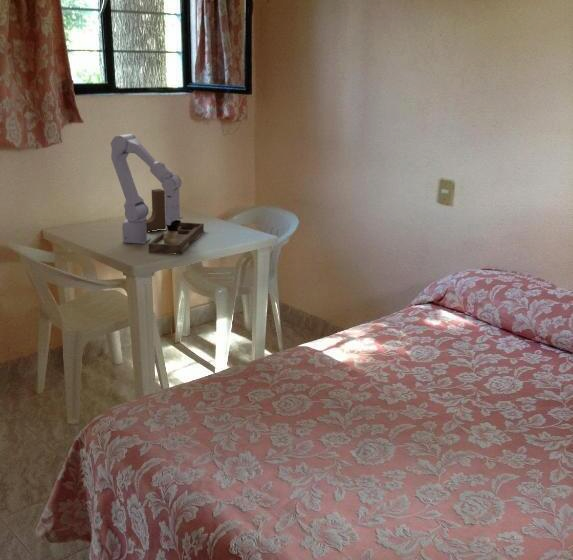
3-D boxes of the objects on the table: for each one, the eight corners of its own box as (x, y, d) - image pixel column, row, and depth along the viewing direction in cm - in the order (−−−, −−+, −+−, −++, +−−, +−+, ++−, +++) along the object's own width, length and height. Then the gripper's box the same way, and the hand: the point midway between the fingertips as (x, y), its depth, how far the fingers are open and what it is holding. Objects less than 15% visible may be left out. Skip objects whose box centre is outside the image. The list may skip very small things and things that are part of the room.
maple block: (164, 244, 266) (163, 233, 264) (167, 241, 270) (166, 230, 269) (174, 244, 265) (174, 234, 264) (177, 241, 270) (177, 231, 268)
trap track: (149, 252, 262) (148, 243, 260) (175, 229, 296) (175, 221, 295) (180, 254, 260) (180, 245, 259) (203, 231, 295) (203, 223, 294)
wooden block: (147, 232, 290) (145, 192, 284) (143, 230, 293) (141, 190, 287) (166, 230, 295) (164, 190, 289) (161, 228, 298) (160, 188, 292)
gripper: (177, 210, 259) (178, 243, 264) (186, 202, 273) (187, 234, 277) (159, 209, 260) (160, 242, 264) (170, 201, 274) (171, 233, 278)
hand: (173, 238), depth 271 cm, fingers closed
